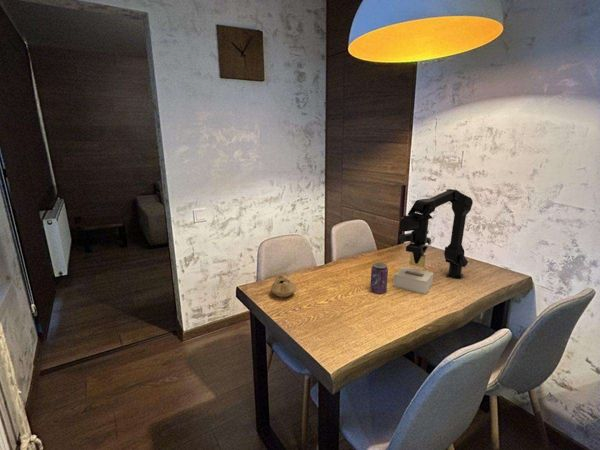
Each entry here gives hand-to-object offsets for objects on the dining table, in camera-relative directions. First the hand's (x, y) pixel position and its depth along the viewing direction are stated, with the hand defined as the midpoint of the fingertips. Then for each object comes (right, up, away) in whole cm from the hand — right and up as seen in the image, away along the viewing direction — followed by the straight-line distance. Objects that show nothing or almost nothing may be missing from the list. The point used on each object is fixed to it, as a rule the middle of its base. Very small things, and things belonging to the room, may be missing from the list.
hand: (417, 262), depth 144 cm
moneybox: (-1, -11, +3) cm, 11 cm away
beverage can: (-18, -12, -1) cm, 22 cm away
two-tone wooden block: (0, -1, 0) cm, 1 cm away
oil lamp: (-60, -13, -4) cm, 62 cm away
